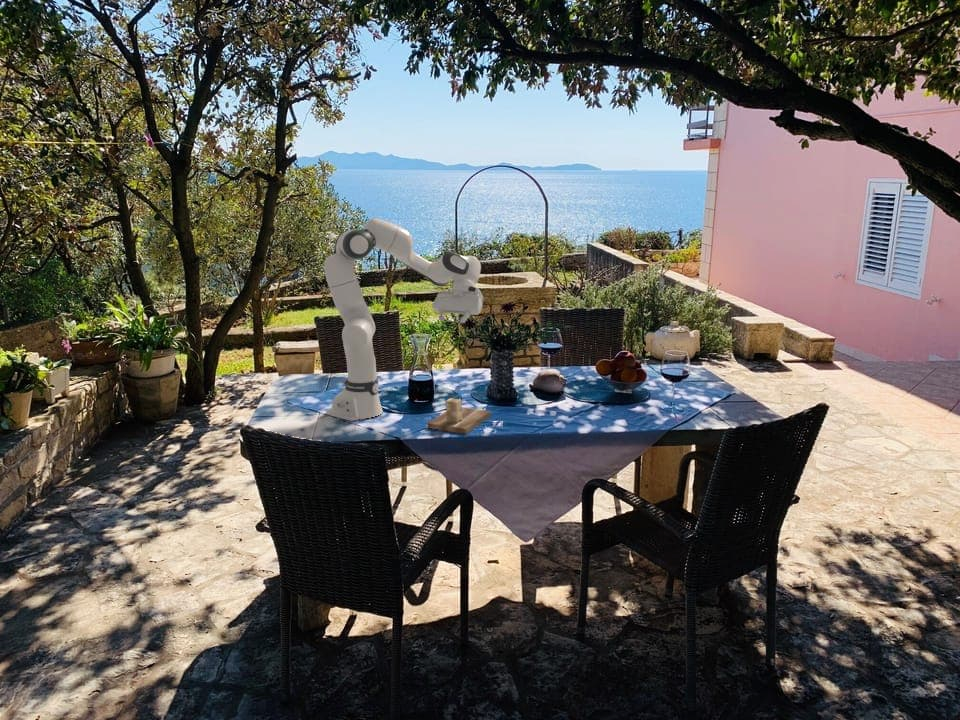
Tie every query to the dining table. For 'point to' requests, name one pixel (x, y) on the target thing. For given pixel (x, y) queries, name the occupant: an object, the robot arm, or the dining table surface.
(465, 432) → the board
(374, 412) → the robot arm
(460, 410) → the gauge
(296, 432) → the dining table surface
